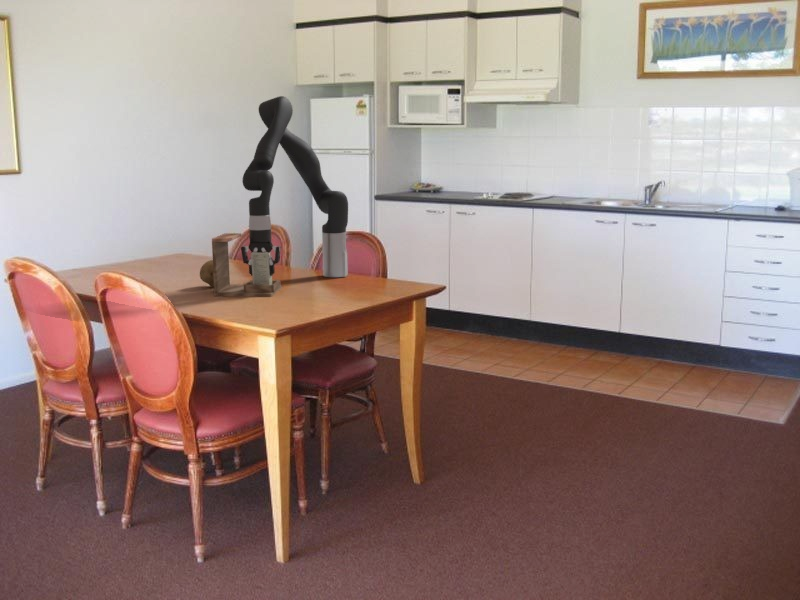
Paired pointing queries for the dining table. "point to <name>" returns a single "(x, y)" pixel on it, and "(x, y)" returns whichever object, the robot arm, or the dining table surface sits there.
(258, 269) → the skincare box
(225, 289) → the wooden display stand
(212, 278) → the natural sponge
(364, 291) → the dining table surface
